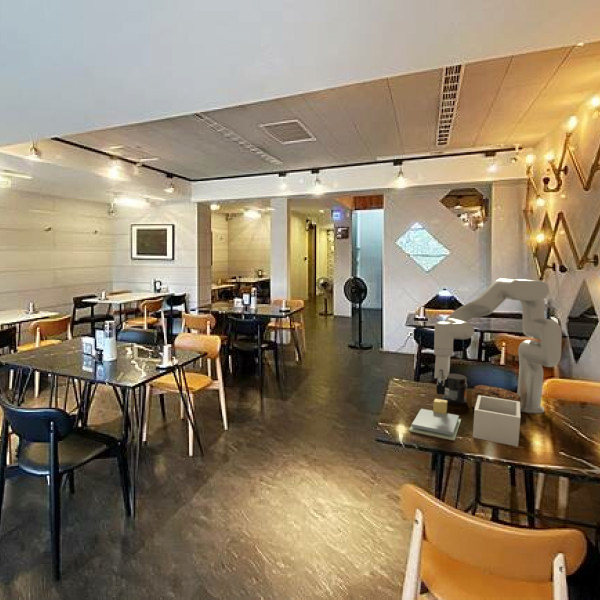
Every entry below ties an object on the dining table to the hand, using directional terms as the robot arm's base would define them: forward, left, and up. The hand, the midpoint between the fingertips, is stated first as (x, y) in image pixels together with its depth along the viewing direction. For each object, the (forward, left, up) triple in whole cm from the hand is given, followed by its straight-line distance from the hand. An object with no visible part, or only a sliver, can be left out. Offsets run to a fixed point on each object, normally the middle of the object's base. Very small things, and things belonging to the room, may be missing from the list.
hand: (442, 390), depth 174 cm
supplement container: (-24, +2, -12) cm, 27 cm away
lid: (+9, 0, -11) cm, 14 cm away
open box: (+5, +21, -12) cm, 25 cm away
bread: (-22, +20, -12) cm, 32 cm away
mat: (+10, -1, -12) cm, 15 cm away
